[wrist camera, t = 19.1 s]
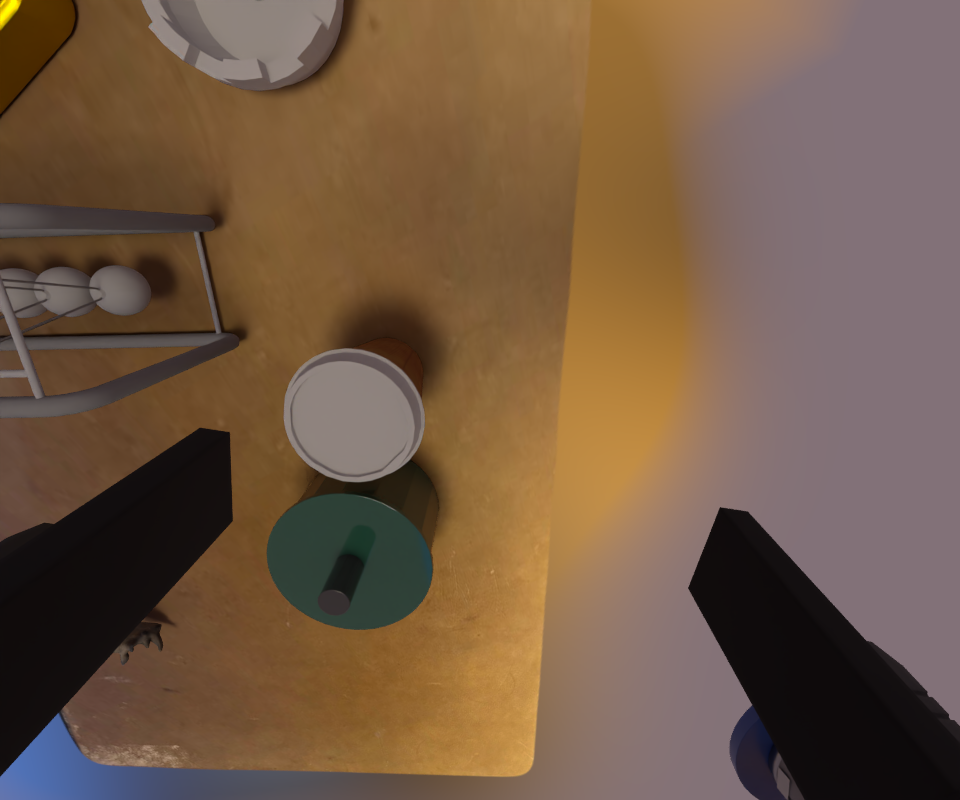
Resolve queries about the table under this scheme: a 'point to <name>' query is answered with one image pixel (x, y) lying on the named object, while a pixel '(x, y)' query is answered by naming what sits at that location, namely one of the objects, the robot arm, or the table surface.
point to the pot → (393, 494)
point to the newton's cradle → (92, 304)
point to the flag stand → (249, 37)
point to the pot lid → (350, 560)
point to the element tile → (29, 40)
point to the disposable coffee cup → (357, 410)
